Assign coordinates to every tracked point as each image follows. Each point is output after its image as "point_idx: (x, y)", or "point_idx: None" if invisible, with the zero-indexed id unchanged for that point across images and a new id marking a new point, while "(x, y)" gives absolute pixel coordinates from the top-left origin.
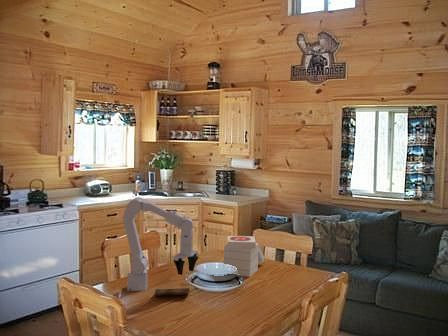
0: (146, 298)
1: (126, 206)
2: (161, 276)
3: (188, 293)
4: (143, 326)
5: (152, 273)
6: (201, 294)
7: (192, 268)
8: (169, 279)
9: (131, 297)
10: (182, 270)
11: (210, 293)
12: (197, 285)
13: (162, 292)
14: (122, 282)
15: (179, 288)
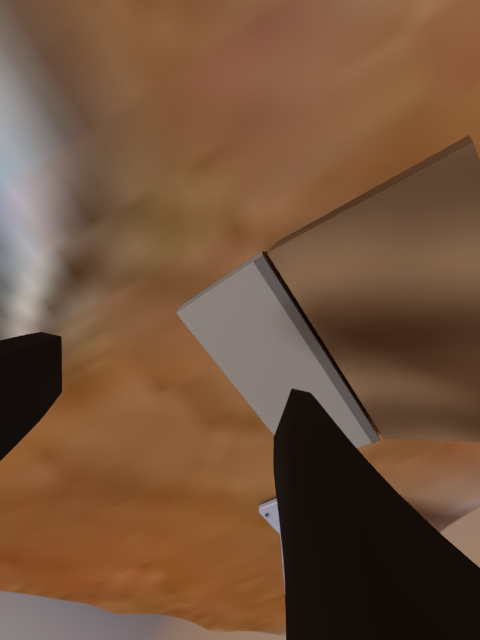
0: (416, 445)
1: None
2: (52, 527)
3: (359, 198)
4: None
5: (48, 569)
6: (179, 155)
7: (21, 359)
8: (61, 482)
9: (423, 505)
10: (324, 431)
11: (108, 84)
12: (23, 295)
13: None
14: (237, 603)
15: (210, 354)
